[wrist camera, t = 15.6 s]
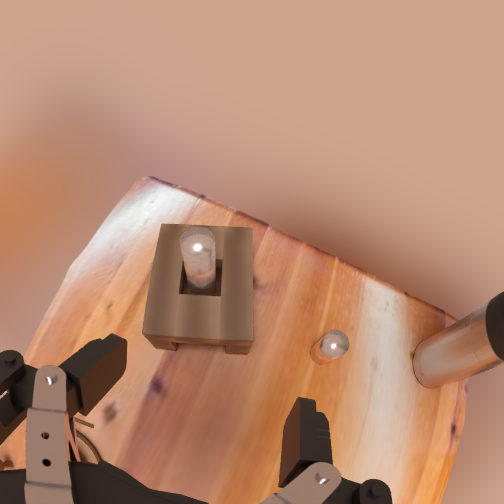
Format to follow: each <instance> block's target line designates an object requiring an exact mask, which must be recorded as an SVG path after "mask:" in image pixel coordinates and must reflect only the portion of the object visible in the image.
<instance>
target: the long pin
mask: <svg viewBox="0 0 504 504" xmlns="http://www.w3.org/2000/svg"><path fill="white" fill-rule="evenodd" d="M180 246H181V251H182V256H183V261H184V266H185V271H186V275H187V280H188V285H189V289H190V293H191V295H204V296H216V262H215V237H214V234H213V233H212V232H211V231H210V230H209V229H207V228H204V227H192V228H190V229H188V230H186V231H185V232H184V233H183V234H182V236H181V238H180Z"/></svg>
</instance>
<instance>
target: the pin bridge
mask: <svg viewBox="0 0 504 504" xmlns="http://www.w3.org/2000/svg"><path fill="white" fill-rule="evenodd" d="M192 227H204V228H207V229H209V230H210V231H211V232H212V233H213V234H214V237H215V262H216V270H219V271H222V283H221V296H204V295H188V294H183V285H184V277H185V266H184V261H183V256H182V251H181V246H180V238H181V236H182V234H183V233H184V232H185V231H186V230H188V229H190V228H192ZM142 334H143V335H144V336H145V337H146V338H147V339H148V340H149V341H150V342H151V344H152V345H153V346H154V347H155V348H156V349H164V350H174V351H177V343H188V344H203V345H222V346H226V354H248V352H249V349H250V347H251V345H252V342H253V228H244V227H226V226H205V225H183V224H161V229H160V233H159V238H158V242H157V247H156V252H155V257H154V262H153V267H152V273H151V278H150V284H149V290H148V296H147V302H146V309H145V315H144V322H143V330H142Z"/></svg>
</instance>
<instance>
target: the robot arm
mask: <svg viewBox="0 0 504 504" xmlns="http://www.w3.org/2000/svg"><path fill="white" fill-rule="evenodd" d="M126 363H127V340H126V339H124V338H121V337H119V336H117V335H115V334H113V333H111V334H110V335H108V336H107V337H106V338H105V339H103V340H102V339H100V338H99V339H96V340H93V341H90V342H89V343H87V344H86V345H85V346H84V347H83V348H81V349H80V350H78V352H76V353H75V354H73V355H72V356H71V357H69V358H68V359H67V360H66V361H64V362H63V363H62V364H61V365H59V366H58V367H57V366H53V365H46V366H43V367H41V368H39V369H37V368H34V367H32V366H29V365H26V364H24V359H23V356H22V355H21V354H20V353H19V352H17V351H14V350H6V351H3V352H1V353H0V395H2V394H3V393H4V392H5V391H6V390H7V393H6V394H5V395H4V396H3V397H2V398H1V399H0V445H1V444H2V443H3V442H4V441H5V440H6V438H7V437H8V436H9V435H10V434H11V433H12V432H13V431H14V430H15V429H16V428H17V427H18V426H19V424H20V423H21V422H22V421H23V420H24V419H25V418H26V417H27V422H26V469H17V470H4V471H0V504H208V503H207V502H203V501H200V500H196V499H193V498H190V497H187V496H184V495H181V494H175V493H168V492H163V491H157V490H152V489H149V488H147V487H146V486H144V485H143V484H142V483H140V482H139V481H137V480H136V479H135V478H133V477H132V476H131V475H129V474H128V473H127V472H125V471H123V470H121V469H119V468H117V467H115V466H113V465H111V464H109V463H108V462H106V461H104V460H102V459H101V460H100V462H99V463H98V464H95V463H90V462H83V461H80V457H79V453H78V447H77V439H76V429H75V418H74V415H75V414H76V413H77V412H79V413H81V414H82V415H84V416H87V415H88V413H89V412H90V411H91V410H92V409H93V408H94V407H95V406H96V405H97V403H98V402H99V401H100V400H101V399H102V398H103V397H104V396H105V395H106V393H107V392H108V391H109V390H110V389H111V388H112V387H113V386H114V385H115V383H116V382H117V381H118V380H119V379H120V378H121V377H122V376H123V374H124V372H125V369H126ZM502 364H504V292H502V293H500V294H498V295H497V296H496V297H494V298H493V299H491V300H490V301H488V302H487V303H485V304H484V305H483V306H481V307H480V308H478V309H477V310H475V311H474V312H472V313H471V314H469V315H467V316H466V317H464V318H462V319H461V320H459V321H458V322H456V323H454V324H452V325H451V326H449V327H447V328H446V329H444V330H442V331H440V332H439V333H437V334H435V335H433V336H431V337H429V338H427V339H426V340H424V341H422V342H421V343H420V344H419V345H418V346H417V348H416V350H415V353H414V357H413V368H414V373H415V375H416V377H417V379H418V381H419V382H420V383H421V384H422V385H423V386H425V387H428V388H436V387H439V386H443V385H446V384H450V383H453V382H456V381H459V380H462V379H465V378H468V377H471V376H474V375H477V374H479V373H482V372H485V371H487V370H490V369H492V368H494V367H497V366H499V365H502ZM278 487H280V488H283V489H282V490H280V491H279V492H278V493H274V494H272V495H271V496H269V497H268V498H266V499H265V500H264V501H262V502H261V503H259V504H392V497H391V491H390V488H389V487H388V485H387V484H386V483H384V482H383V481H381V480H377V479H369V480H366V481H365V482H363V483H362V484H359V483H356V482H353V481H350V480H347V479H345V478H343V477H341V474H340V472H339V470H338V469H337V468H336V467H334V466H333V460H332V449H331V439H330V432H329V421H328V420H327V418H326V416H325V415H324V413H322V412H316V402H315V400H312V399H307V398H302V397H298V398H297V400H296V402H295V404H294V406H293V408H292V410H291V412H290V414H289V415H288V417H287V419H286V422H285V425H284V429H283V440H282V453H281V464H280V475H279V485H278Z"/></svg>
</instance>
